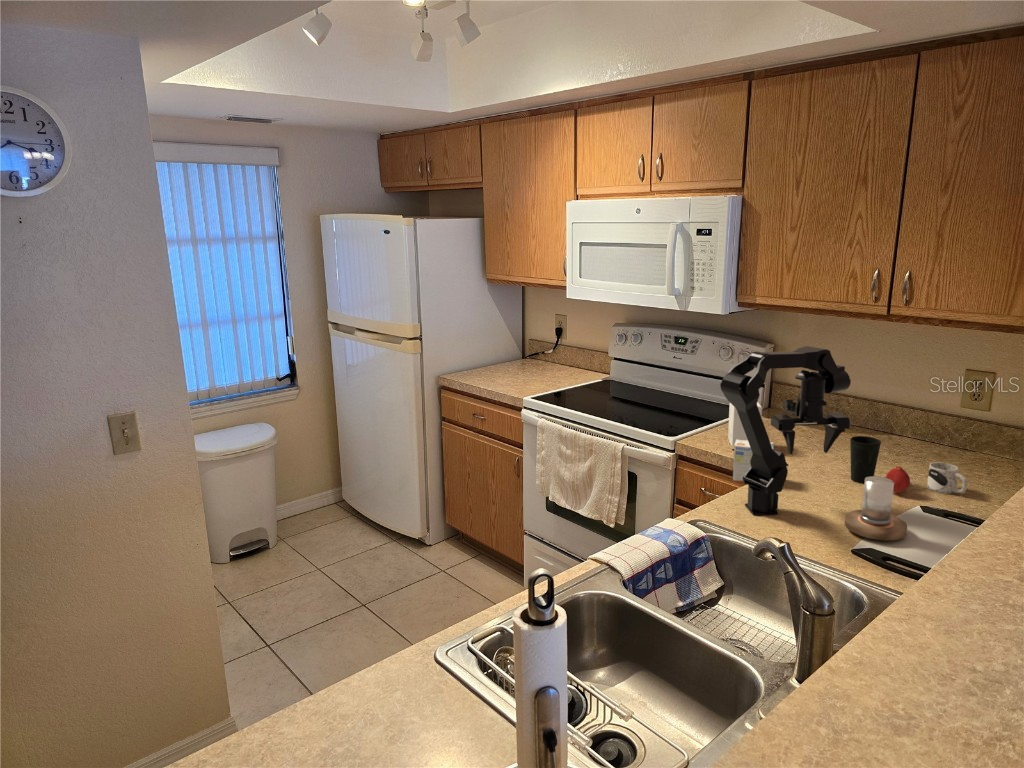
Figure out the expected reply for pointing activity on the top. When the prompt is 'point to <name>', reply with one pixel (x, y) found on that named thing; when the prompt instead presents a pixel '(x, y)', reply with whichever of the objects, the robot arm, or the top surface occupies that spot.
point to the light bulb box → (742, 459)
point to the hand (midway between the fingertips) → (807, 453)
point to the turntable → (876, 527)
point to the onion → (898, 479)
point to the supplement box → (737, 425)
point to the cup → (863, 457)
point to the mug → (945, 478)
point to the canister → (877, 501)
